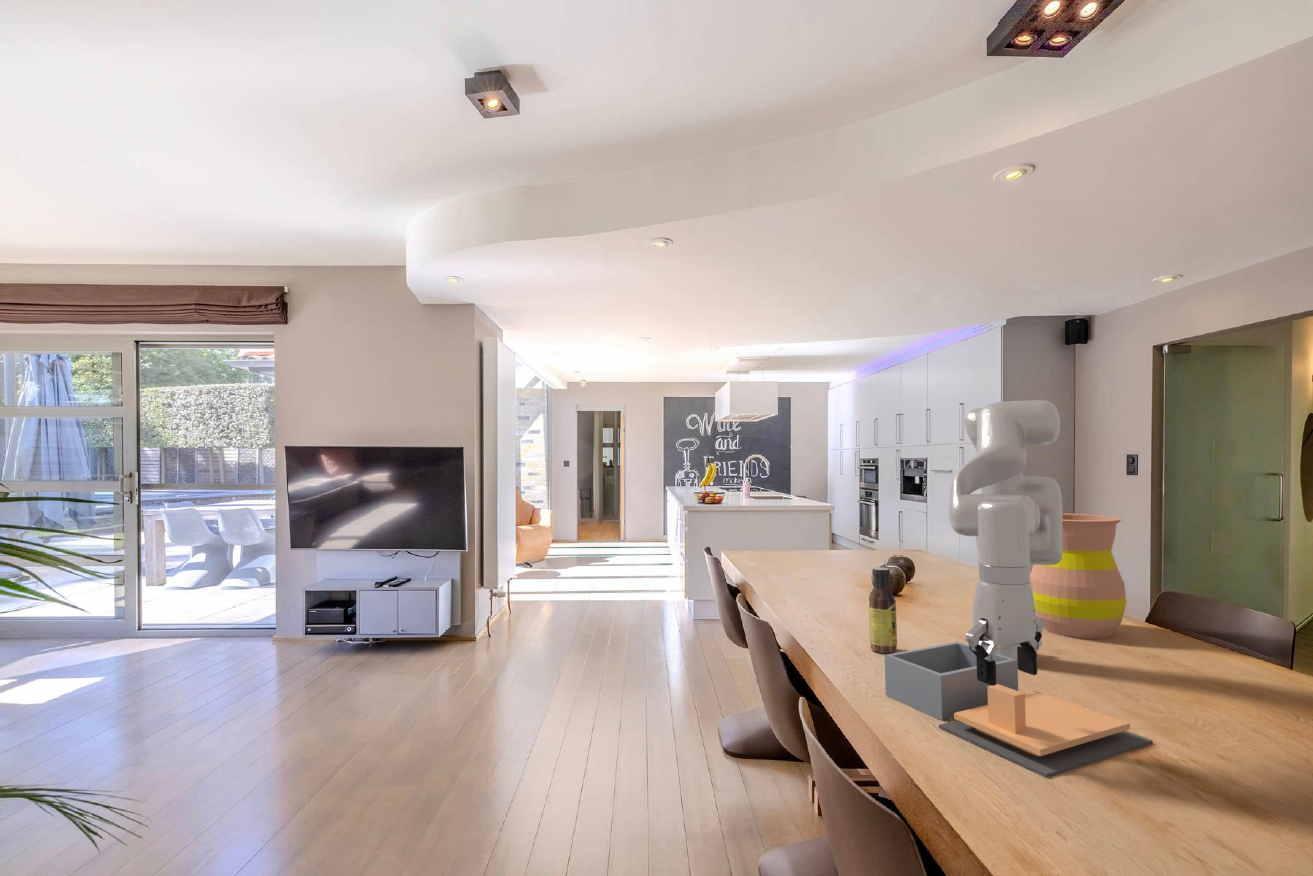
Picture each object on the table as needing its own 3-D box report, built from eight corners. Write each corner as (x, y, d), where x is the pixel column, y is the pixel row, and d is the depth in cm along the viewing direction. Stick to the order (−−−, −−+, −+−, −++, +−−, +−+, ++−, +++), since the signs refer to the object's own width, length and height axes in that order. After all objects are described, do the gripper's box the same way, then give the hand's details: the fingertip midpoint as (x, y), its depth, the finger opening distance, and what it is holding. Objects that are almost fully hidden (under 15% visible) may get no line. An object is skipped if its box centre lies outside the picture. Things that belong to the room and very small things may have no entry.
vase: (1016, 619, 189) (1013, 513, 190) (1100, 621, 186) (1096, 513, 187) (1050, 641, 167) (1047, 521, 168) (1146, 643, 164) (1142, 521, 165)
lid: (1039, 705, 125) (1038, 659, 125) (1130, 738, 110) (1128, 686, 110) (954, 727, 116) (952, 678, 116) (1040, 766, 101) (1038, 709, 101)
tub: (958, 679, 141) (957, 641, 141) (1018, 701, 128) (1017, 659, 128) (885, 695, 133) (884, 655, 133) (942, 720, 120) (940, 675, 120)
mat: (1038, 702, 128) (1038, 700, 128) (1152, 743, 109) (1152, 740, 109) (938, 727, 117) (938, 725, 117) (1046, 777, 99) (1046, 774, 99)
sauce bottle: (899, 655, 159) (897, 571, 159) (871, 654, 160) (869, 570, 160) (895, 647, 165) (893, 566, 165) (868, 646, 166) (866, 566, 167)
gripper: (1019, 565, 118) (1022, 662, 118) (947, 576, 111) (950, 679, 111) (1060, 572, 111) (1063, 675, 111) (987, 585, 104) (990, 695, 104)
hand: (1007, 677), depth 111 cm, fingers open, 9 cm apart
